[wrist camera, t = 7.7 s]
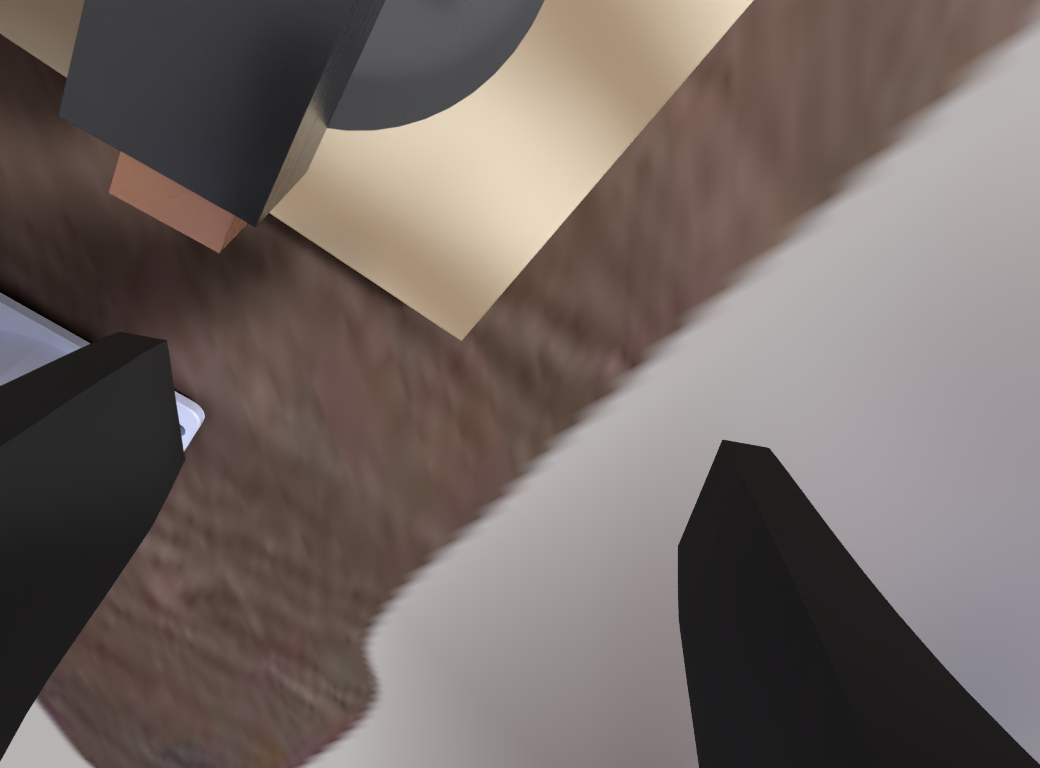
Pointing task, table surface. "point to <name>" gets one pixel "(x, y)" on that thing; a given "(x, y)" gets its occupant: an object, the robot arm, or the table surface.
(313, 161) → the cream base plate
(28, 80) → the table surface
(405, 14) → the rotary knob
